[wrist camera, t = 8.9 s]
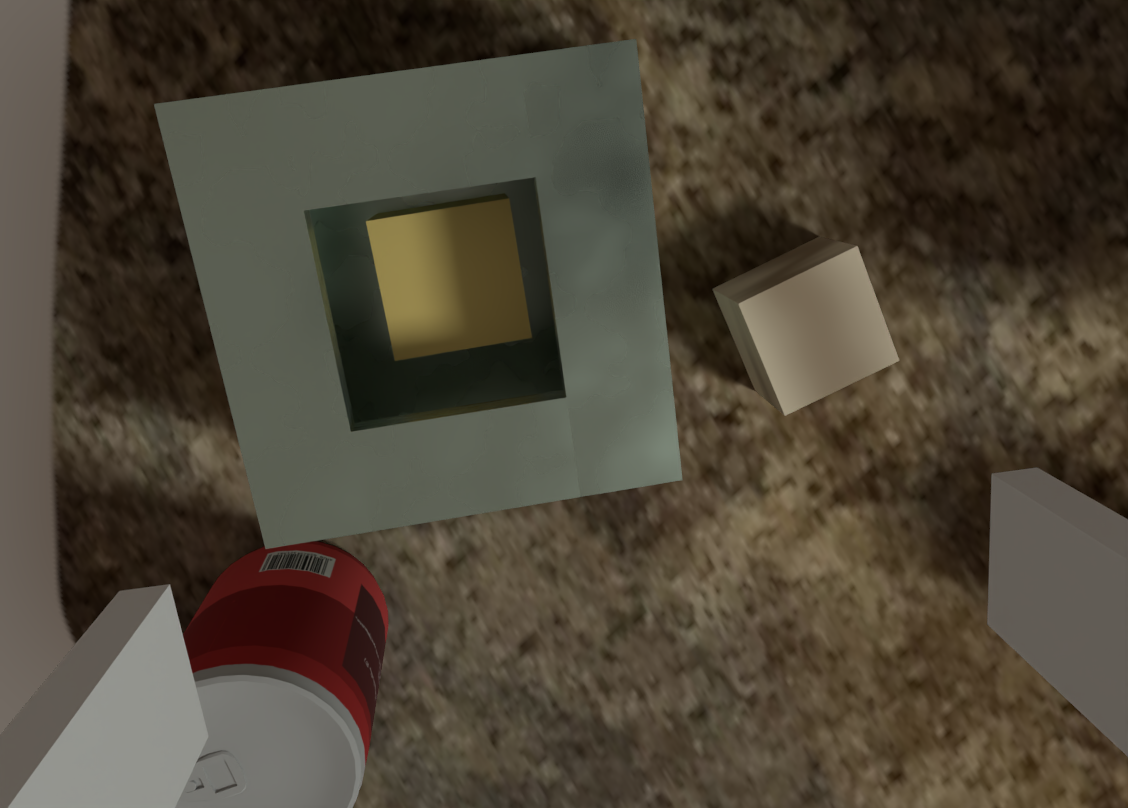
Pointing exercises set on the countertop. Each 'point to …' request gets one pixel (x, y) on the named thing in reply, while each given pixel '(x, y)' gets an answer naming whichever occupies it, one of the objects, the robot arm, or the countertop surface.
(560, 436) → the box
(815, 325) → the block
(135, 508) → the countertop surface
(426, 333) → the block
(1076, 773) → the countertop surface
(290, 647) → the canned food
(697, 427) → the countertop surface
